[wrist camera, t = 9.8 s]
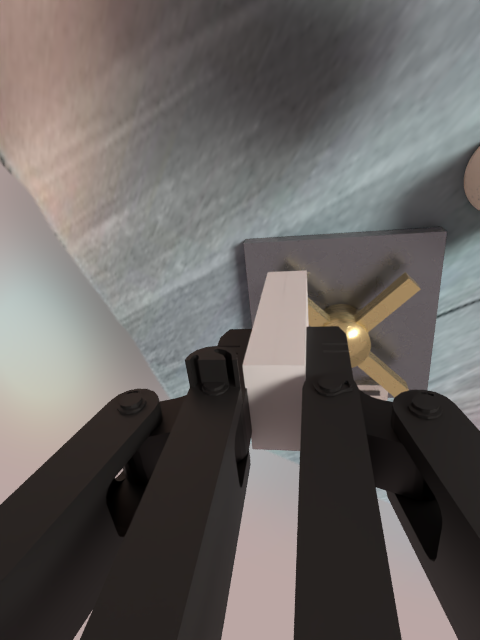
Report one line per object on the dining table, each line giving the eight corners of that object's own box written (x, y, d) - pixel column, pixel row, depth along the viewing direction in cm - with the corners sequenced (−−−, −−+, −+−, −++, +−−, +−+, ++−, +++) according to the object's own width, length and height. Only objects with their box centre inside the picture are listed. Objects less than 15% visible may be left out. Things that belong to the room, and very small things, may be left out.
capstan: (342, 209, 43) (346, 222, 38) (464, 324, 46) (483, 350, 41) (227, 327, 52) (218, 350, 47) (338, 416, 55) (341, 446, 50)
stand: (245, 239, 48) (241, 248, 45) (441, 226, 44) (452, 235, 41) (260, 387, 58) (257, 403, 55) (422, 388, 54) (429, 406, 51)
